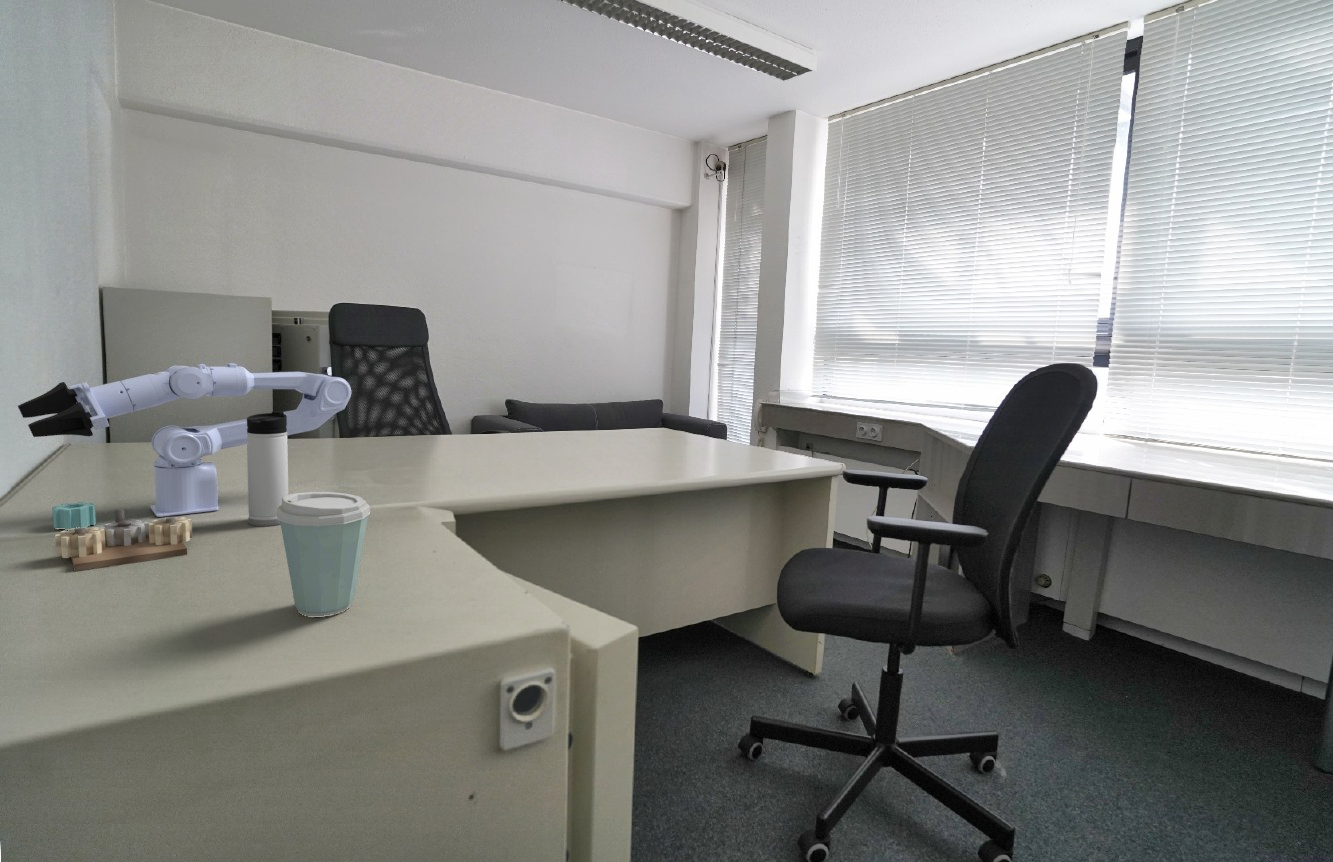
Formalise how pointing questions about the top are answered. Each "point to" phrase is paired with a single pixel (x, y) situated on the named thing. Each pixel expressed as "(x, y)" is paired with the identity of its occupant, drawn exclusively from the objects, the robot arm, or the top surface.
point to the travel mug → (266, 466)
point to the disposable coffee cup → (323, 548)
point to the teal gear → (74, 515)
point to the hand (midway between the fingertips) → (25, 421)
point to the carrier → (124, 542)
